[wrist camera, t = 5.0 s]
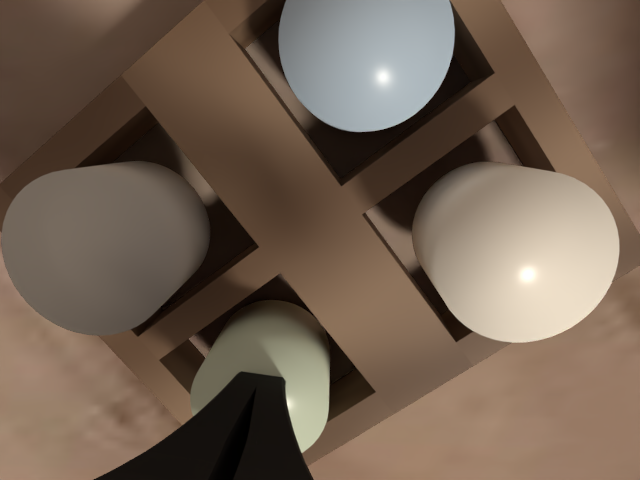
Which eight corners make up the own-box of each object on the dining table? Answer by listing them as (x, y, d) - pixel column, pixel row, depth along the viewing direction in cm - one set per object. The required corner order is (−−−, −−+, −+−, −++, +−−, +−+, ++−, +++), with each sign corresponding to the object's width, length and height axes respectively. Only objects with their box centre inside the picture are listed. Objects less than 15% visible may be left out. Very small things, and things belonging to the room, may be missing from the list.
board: (609, 240, 14) (653, 257, 12) (261, 456, 17) (251, 499, 15) (386, -123, 12) (396, -175, 10) (24, 195, 14) (-25, 205, 12)
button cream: (576, 244, 12) (652, 279, 9) (459, 318, 13) (495, 372, 10) (505, 131, 12) (562, 131, 9) (385, 216, 12) (400, 242, 9)
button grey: (237, 241, 13) (207, 274, 10) (141, 313, 13) (86, 364, 10) (148, 132, 12) (87, 131, 9) (51, 214, 13) (-34, 238, 10)
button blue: (452, 76, 12) (488, 58, 10) (344, 158, 13) (346, 165, 10) (375, -45, 12) (388, -104, 9) (264, 49, 12) (243, 22, 10)
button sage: (352, 363, 15) (356, 419, 12) (265, 419, 16) (249, 485, 13) (283, 278, 14) (270, 315, 11) (195, 340, 15) (161, 390, 12)
